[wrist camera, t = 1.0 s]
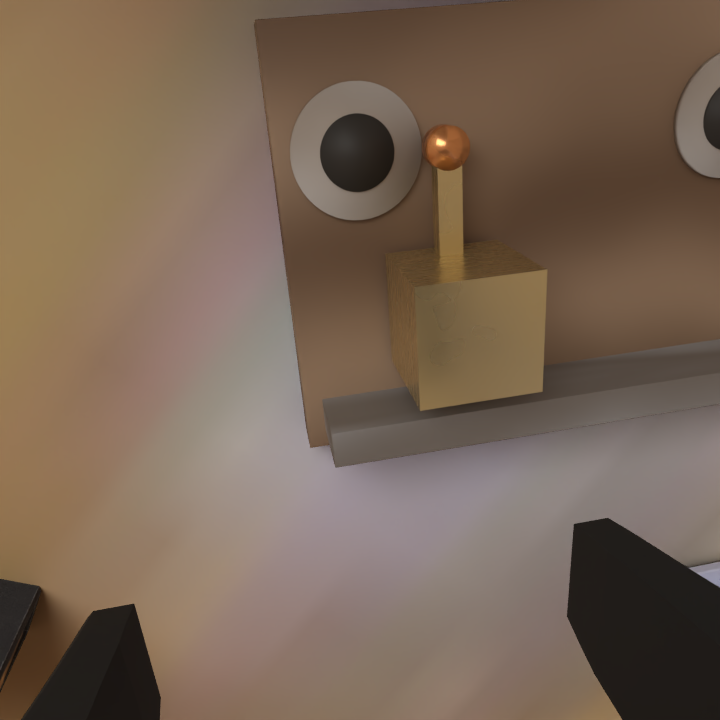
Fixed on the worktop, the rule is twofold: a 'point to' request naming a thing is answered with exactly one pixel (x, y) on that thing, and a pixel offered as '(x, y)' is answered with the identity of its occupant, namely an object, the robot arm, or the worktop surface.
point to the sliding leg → (463, 301)
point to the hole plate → (502, 202)
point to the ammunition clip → (14, 620)
